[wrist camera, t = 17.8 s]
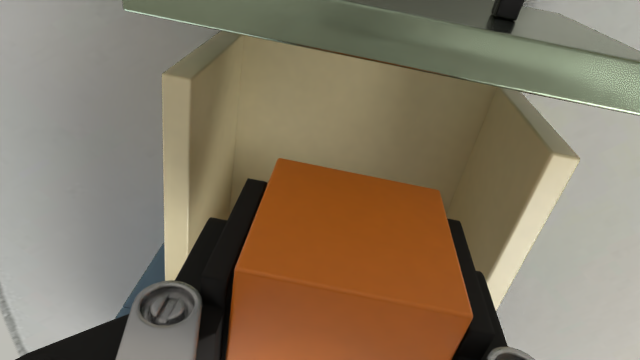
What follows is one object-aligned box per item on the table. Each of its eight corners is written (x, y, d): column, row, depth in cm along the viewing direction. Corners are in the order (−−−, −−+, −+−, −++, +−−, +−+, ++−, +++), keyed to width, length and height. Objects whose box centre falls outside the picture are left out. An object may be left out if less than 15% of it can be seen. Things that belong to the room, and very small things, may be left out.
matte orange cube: (260, 277, 14) (219, 410, 10) (277, 156, 11) (233, 268, 8) (396, 304, 14) (407, 447, 10) (440, 189, 12) (475, 317, 8)
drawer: (224, -282, 12) (92, -470, 7) (652, -193, 13) (906, -298, 7) (201, 252, 23) (142, 366, 17) (434, 299, 23) (457, 429, 17)
